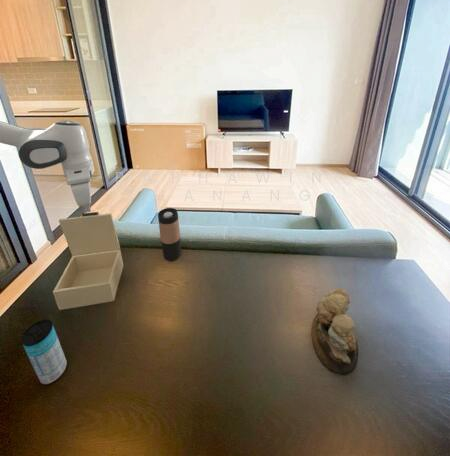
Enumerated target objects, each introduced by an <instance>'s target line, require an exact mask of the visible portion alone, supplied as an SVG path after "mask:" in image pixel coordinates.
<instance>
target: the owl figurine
mask: <svg viewBox="0 0 450 456" xmlns="http://www.w3.org/2000/svg"><path fill="white" fill-rule="evenodd" d="M350 304H351V300H350V297H349V294H348V293H347V292H346V291H345V290H344V289H340V288H339V289H338V288H337V289H334V290H332V289H331V290H328V291H327V293H326V294H325V295H324V297H321V298H320V299H319V300H318V302H317V305H316V307H315V311H316V312H317V313H316V315H315V316H314V318H313V321H312V325H311V339H312V345H313V348H314V351H315V353H316V355H317V357H318V359H319V361H320V362H321V363H322V365H323V366H324V367H325V368H327V369H328V370H329V371H330V372H332V373H335V374H337V375H338V374H339V375H343V376H345V375H350V374H351V373H352V372H353V371H354V370H355V369H356V367H357V364H358V360H359V346H358V341H357V337H356V334H355V332H354V330H355V323H354V321H353V318H352V317H350V316H348V315H347V314H346V312H347V311H348V310H349V309H350Z"/></svg>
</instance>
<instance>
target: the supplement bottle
mask: <svg viewBox="0 0 450 456" xmlns="http://www.w3.org/2000/svg"><path fill="white" fill-rule="evenodd" d="M20 341H21V344H22V347H23V348H24V351H25V353H26V356H27V358H28V359H29V362H30V364H31V366H32V368H33V370H34V372H35V375H36V376H37V378H38V381H39V383H41V384H42V385H50V384H53V383H55V382H56V381H58V380H59V379H60V378H61V377H62V376H63V374H65V371H66V368H67V364H68V363H67V361H68V360H67V359H66V356H65V353H64V350H63V348H62V345H61V342H60V340H59V337H58V335H57V332H56V329H55V327H54V324H53V322H52V320H50V319H41V320H38V321H36V322H35V323H33V324H31V325H30V326H29V327H28V328H27V329H26V330H25V331H24V332H23V334H22V336H21V339H20Z"/></svg>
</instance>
